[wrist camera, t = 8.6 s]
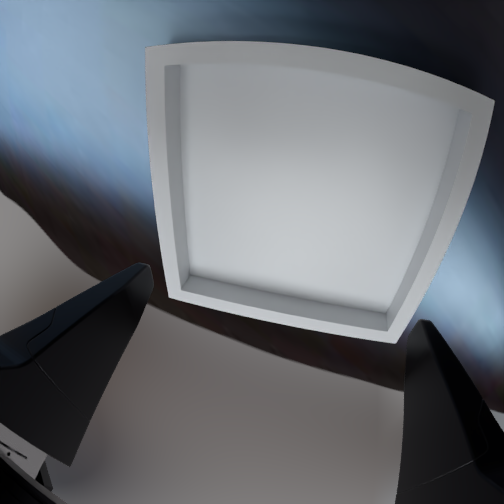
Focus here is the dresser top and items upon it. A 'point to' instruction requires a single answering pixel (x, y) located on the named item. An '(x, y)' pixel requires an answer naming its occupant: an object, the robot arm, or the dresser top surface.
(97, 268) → the dresser top surface
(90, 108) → the dresser top surface
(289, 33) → the dresser top surface
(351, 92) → the tray
